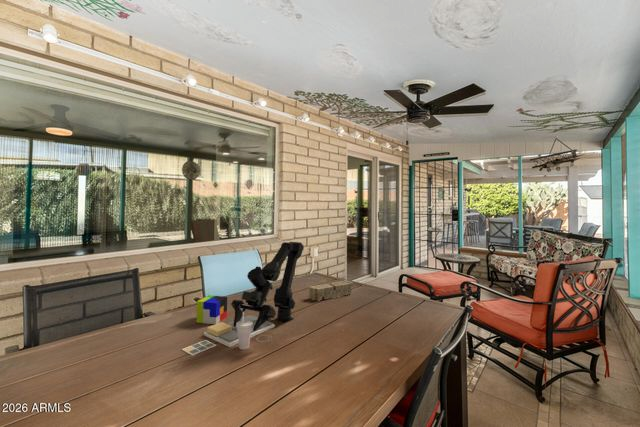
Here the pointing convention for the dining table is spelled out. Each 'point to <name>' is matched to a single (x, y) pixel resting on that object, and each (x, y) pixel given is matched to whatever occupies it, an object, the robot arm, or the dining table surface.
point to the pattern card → (198, 347)
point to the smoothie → (244, 332)
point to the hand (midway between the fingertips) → (243, 328)
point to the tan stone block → (330, 290)
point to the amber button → (219, 329)
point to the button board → (232, 336)
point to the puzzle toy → (211, 309)
